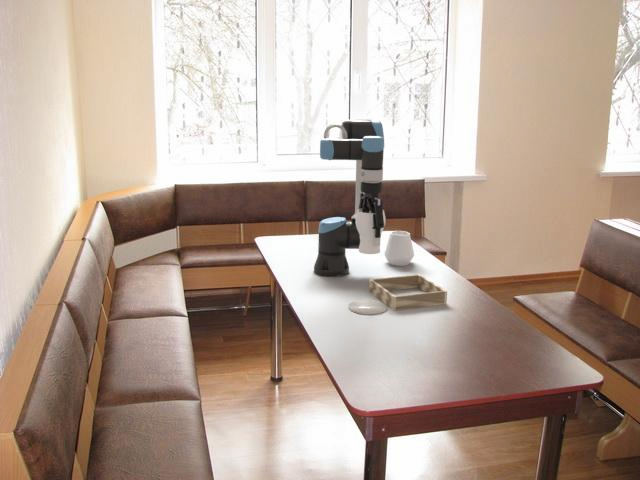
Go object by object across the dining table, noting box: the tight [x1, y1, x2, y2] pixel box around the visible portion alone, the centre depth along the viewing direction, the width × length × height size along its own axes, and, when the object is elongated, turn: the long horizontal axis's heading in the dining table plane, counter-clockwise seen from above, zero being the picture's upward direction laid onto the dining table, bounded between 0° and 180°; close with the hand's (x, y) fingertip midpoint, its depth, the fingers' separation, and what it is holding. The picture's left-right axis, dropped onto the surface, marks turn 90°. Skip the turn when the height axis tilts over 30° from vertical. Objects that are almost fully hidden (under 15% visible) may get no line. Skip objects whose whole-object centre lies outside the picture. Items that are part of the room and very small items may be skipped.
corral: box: [368, 274, 448, 311], centre depth 255 cm, size 22×22×5 cm
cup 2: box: [383, 230, 415, 267], centre depth 300 cm, size 13×13×14 cm
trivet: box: [348, 299, 388, 316], centre depth 244 cm, size 14×14×1 cm
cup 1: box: [355, 208, 386, 255], centre depth 236 cm, size 11×11×15 cm
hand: (369, 242), depth 237 cm, fingers closed on cup 1, 11 cm apart
